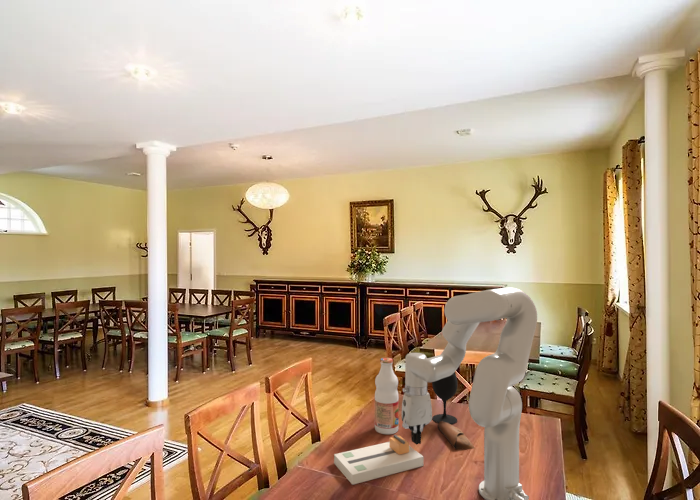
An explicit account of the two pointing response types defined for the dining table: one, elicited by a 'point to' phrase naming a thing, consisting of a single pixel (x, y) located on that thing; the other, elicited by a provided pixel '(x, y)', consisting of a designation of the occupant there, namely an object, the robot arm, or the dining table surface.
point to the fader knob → (399, 444)
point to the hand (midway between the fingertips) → (416, 442)
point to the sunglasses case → (455, 436)
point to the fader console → (375, 462)
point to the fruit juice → (386, 399)
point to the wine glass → (445, 396)
